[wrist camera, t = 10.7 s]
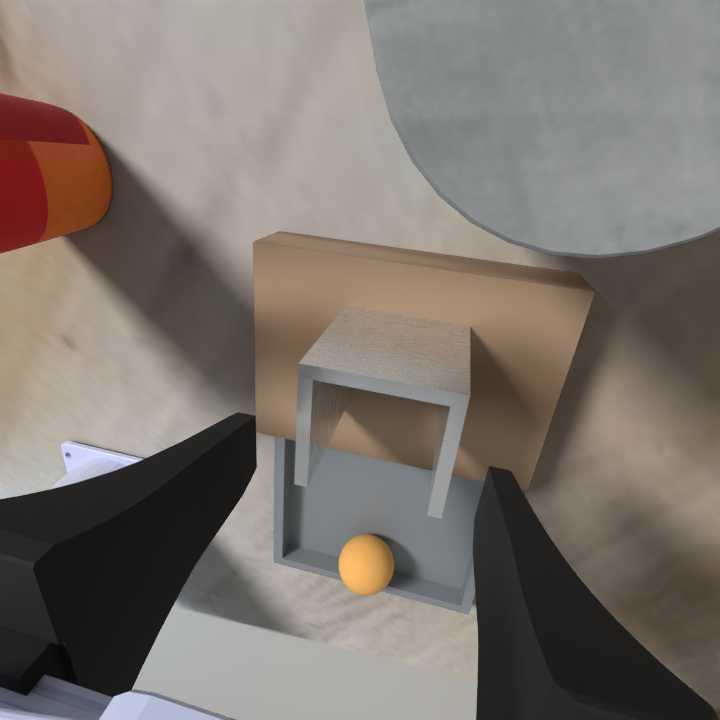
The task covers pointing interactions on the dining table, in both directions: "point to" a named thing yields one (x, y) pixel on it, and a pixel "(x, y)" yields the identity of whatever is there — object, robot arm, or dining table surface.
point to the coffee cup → (48, 173)
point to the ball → (366, 564)
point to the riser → (428, 301)
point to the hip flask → (560, 116)
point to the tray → (377, 523)
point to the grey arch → (384, 383)
